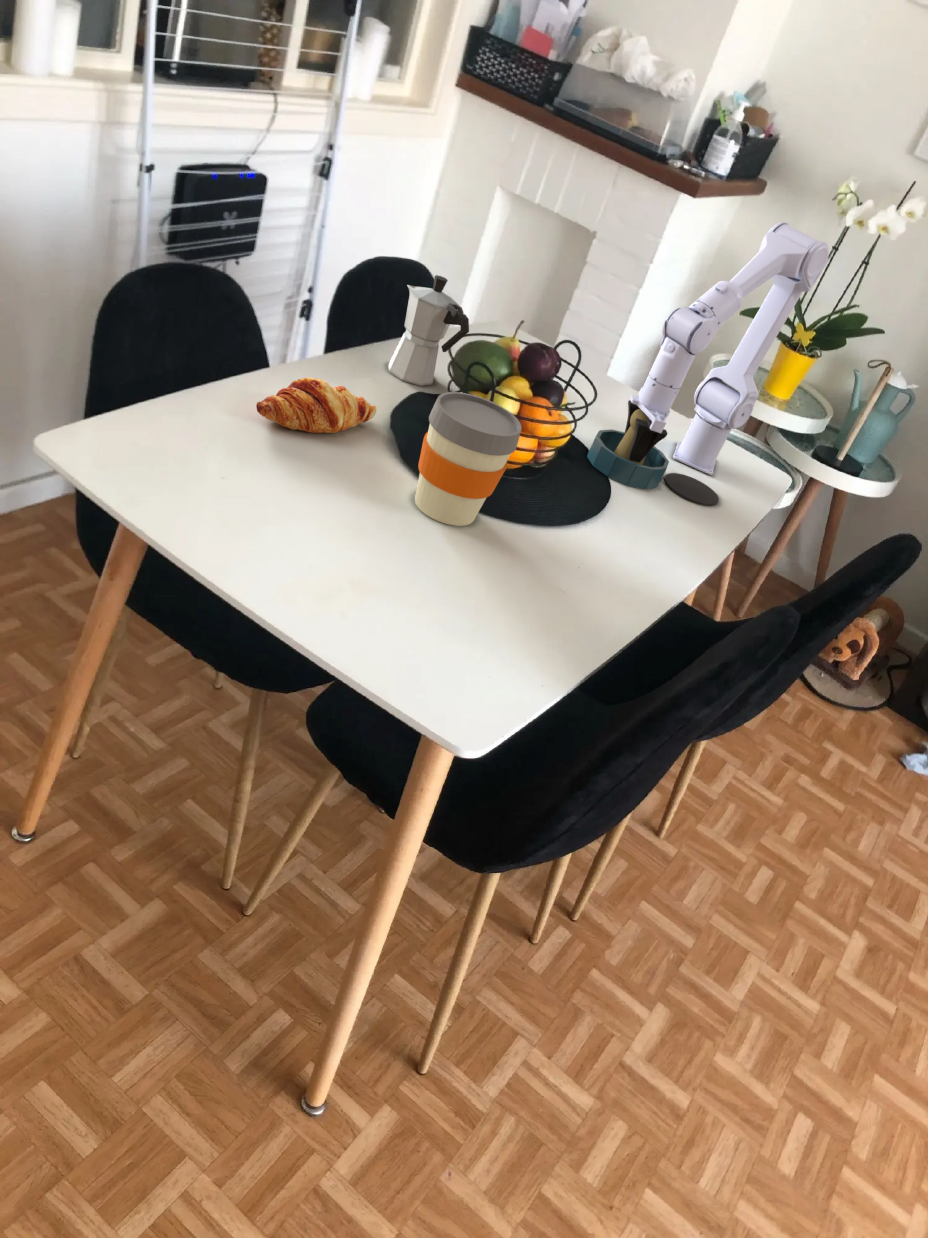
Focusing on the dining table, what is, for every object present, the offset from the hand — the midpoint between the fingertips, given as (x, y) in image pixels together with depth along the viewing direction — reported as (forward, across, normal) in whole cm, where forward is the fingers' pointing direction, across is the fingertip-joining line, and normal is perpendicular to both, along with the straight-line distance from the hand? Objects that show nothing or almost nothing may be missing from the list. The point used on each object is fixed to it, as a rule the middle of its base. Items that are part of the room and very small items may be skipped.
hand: (631, 451), depth 175 cm
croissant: (+4, +20, -53) cm, 57 cm away
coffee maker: (+4, -12, -39) cm, 41 cm away
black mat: (+3, 0, +13) cm, 14 cm away
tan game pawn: (+4, 0, 0) cm, 4 cm away
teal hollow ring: (+3, 0, 0) cm, 3 cm away
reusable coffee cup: (+4, +35, -33) cm, 48 cm away
